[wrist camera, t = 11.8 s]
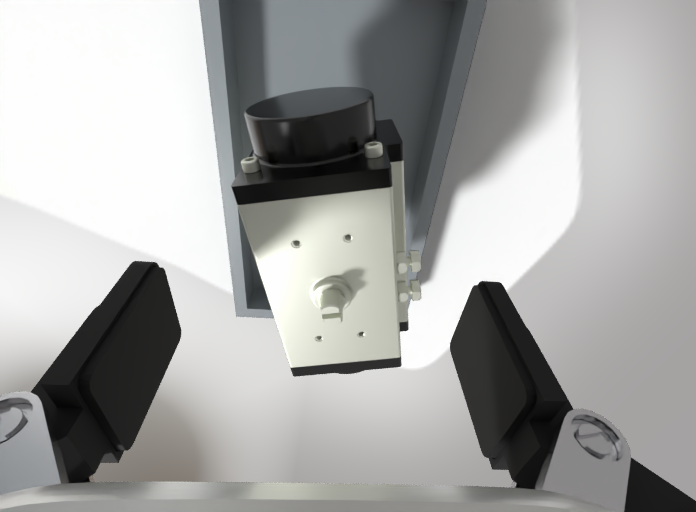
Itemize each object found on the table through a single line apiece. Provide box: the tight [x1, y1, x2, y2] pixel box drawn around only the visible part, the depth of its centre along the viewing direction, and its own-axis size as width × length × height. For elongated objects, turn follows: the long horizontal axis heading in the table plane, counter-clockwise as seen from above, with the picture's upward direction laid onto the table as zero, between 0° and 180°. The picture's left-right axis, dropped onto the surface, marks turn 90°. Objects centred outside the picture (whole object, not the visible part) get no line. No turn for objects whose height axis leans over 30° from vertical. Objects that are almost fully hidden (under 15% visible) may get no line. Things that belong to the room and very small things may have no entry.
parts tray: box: [199, 0, 487, 318], centre depth 21 cm, size 20×12×3 cm, turn 175°
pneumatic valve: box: [231, 87, 421, 376], centre depth 17 cm, size 6×12×12 cm, turn 7°
